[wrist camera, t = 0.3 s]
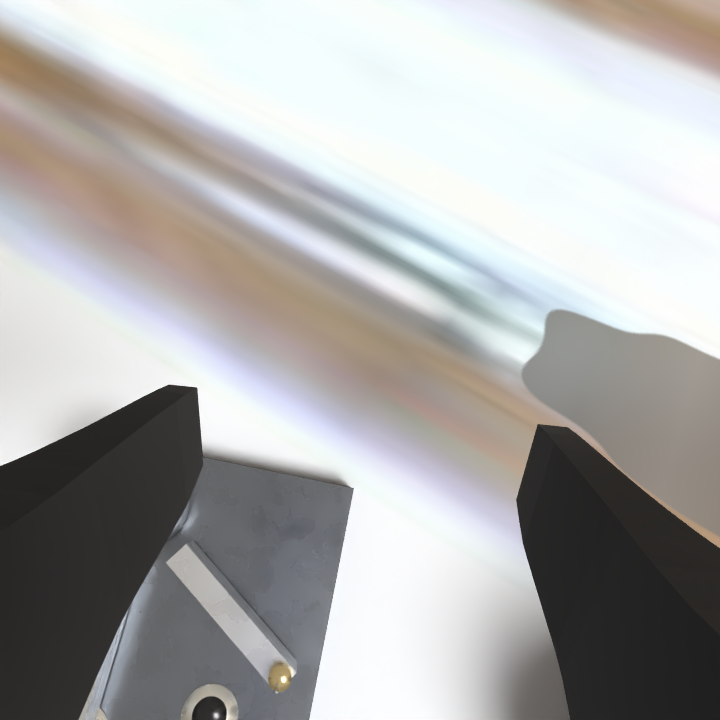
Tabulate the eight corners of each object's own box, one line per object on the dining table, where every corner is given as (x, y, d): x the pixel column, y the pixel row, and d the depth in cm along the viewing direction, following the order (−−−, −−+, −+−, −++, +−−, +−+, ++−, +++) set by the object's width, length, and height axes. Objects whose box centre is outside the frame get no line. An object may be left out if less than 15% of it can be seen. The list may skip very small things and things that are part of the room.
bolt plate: (288, 814, 33) (286, 875, 27) (-8, 764, 32) (-70, 819, 26) (351, 488, 38) (360, 487, 33) (103, 437, 37) (71, 427, 32)
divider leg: (174, 557, 34) (163, 563, 31) (193, 540, 35) (183, 544, 32) (279, 681, 33) (277, 699, 30) (297, 661, 33) (297, 677, 31)
